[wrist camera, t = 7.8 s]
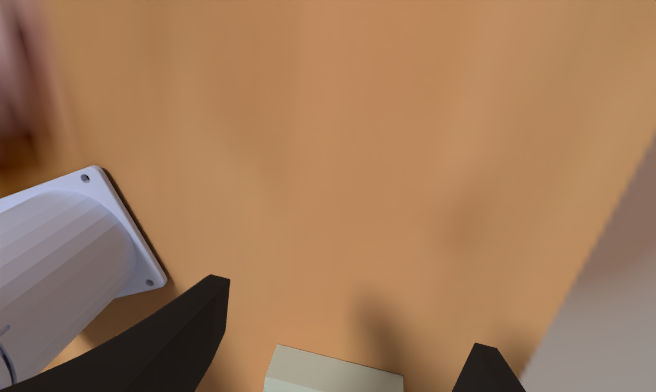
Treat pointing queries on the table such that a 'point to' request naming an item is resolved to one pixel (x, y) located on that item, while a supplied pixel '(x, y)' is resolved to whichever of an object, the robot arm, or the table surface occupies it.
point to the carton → (324, 374)
